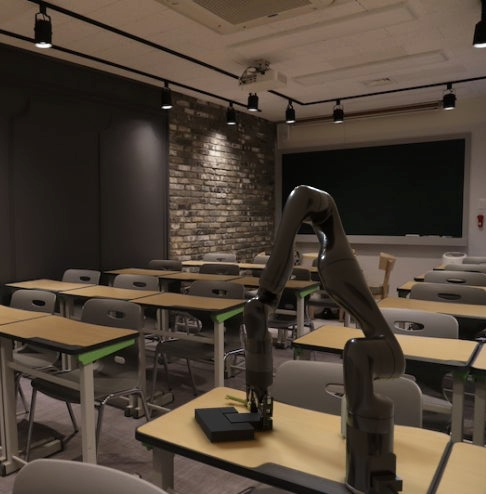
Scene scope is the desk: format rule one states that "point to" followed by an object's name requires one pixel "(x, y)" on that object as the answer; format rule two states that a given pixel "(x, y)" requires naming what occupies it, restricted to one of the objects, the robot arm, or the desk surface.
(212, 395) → the desk surface
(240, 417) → the strip pad
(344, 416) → the photo printer
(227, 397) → the key
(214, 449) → the desk surface
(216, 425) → the base pad
